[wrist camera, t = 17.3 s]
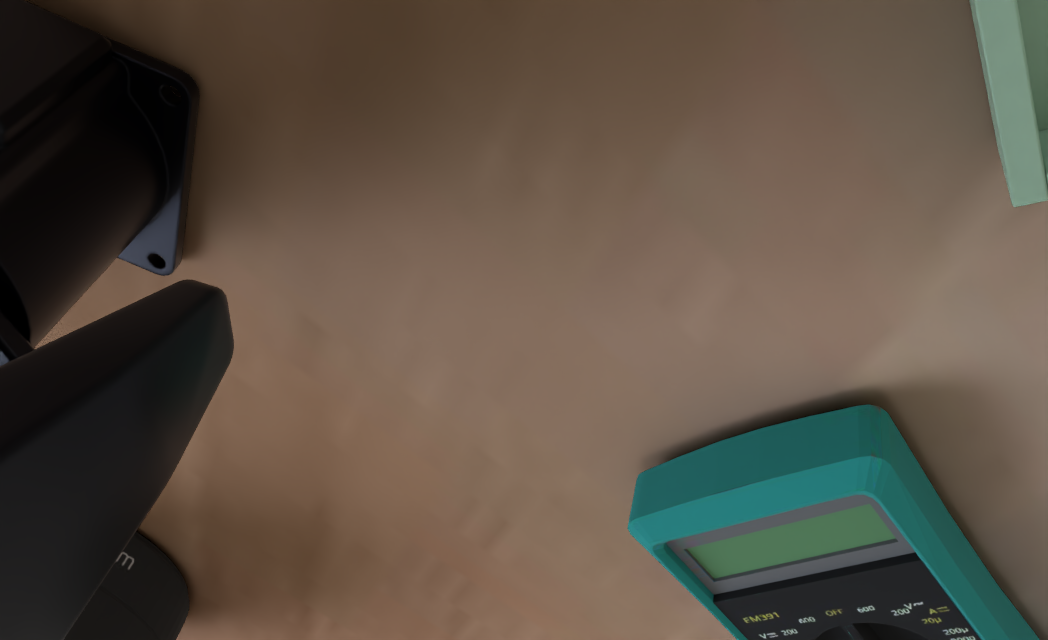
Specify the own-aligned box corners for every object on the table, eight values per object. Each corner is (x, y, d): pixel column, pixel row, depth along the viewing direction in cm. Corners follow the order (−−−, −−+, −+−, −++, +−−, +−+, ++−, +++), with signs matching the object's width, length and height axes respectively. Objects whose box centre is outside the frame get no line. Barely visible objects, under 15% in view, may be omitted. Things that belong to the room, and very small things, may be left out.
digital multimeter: (864, 719, 33) (867, 804, 31) (628, 456, 27) (611, 540, 25) (1091, 691, 29) (1113, 786, 27) (874, 376, 23) (879, 467, 21)
